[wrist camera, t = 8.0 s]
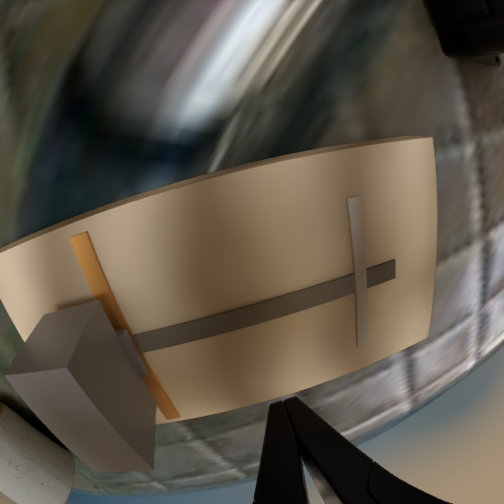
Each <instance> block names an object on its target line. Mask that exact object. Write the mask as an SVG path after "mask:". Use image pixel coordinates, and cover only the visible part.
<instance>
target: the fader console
mask: <svg viewBox="0 0 504 504" xmlns="http://www.w3.org/2000/svg"><path fill="white" fill-rule="evenodd" d="M436 257H437V183H436V167H435V156H434V146H433V137H424V136H411V135H406V136H398V137H390V138H382V139H375V140H368V141H361V142H354V143H348V144H342V145H336V146H330V147H324V148H319V149H314V150H308V151H303V152H298V153H293V154H288V155H283V156H279V157H274V158H269V159H265V160H261V161H256V162H252V163H248V164H244V165H239V166H235V167H231V168H227V169H223V170H219V171H216V172H212V173H208V174H204V175H201V176H197V177H193V178H190V179H186V180H183V181H179V182H176V183H173V184H169V185H166V186H163V187H159V188H156V189H153V190H150V191H147V192H143V193H140V194H137V195H134V196H131V197H128V198H125V199H122V200H119V201H116V202H113V203H110V204H108V205H105V206H102V207H99V208H96V209H94V210H91V211H88V212H86V213H83V214H80V215H78V216H75V217H72V218H70V219H67V220H65V221H62V222H60V223H57V224H55V225H52V226H50V227H47V228H45V229H42V230H40V231H38V232H35V233H33V234H31V235H28V236H26V237H24V238H22V239H19V240H17V241H15V242H13V243H10V244H8V245H6V246H4V247H2V248H1V249H0V299H1V301H2V303H3V304H4V306H5V308H6V310H7V312H8V314H9V316H10V318H11V319H12V321H13V323H14V325H15V327H16V328H17V330H18V332H19V333H20V335H21V337H22V338H23V340H24V342H25V341H26V340H27V338H28V337H29V335H30V334H31V332H32V331H33V329H34V328H35V326H36V325H37V324H38V322H39V321H40V319H41V318H42V316H43V315H44V314H48V313H51V312H55V311H59V310H63V309H66V308H70V307H74V306H78V305H81V304H85V303H89V302H93V301H96V300H100V302H101V305H102V307H103V309H104V311H105V313H106V315H107V317H108V319H109V321H110V323H111V325H112V326H113V328H114V330H115V331H116V330H120V329H125V328H126V329H127V331H128V333H129V335H130V337H131V339H132V341H133V343H134V344H135V346H136V348H137V350H138V352H139V354H140V355H141V357H142V359H143V361H144V363H145V364H146V366H147V368H148V373H147V376H144V377H141V378H142V379H143V381H144V382H145V384H146V386H147V387H148V389H149V390H150V392H151V393H152V395H153V396H154V398H155V399H156V401H157V409H156V424H162V423H169V422H175V421H181V420H186V419H192V418H197V417H202V416H207V415H212V414H216V413H221V412H225V411H230V410H234V409H238V408H242V407H246V406H250V405H254V404H257V403H261V402H265V401H268V400H272V399H275V398H278V397H282V396H285V395H288V394H291V393H294V392H298V391H301V390H304V389H307V388H310V387H313V386H315V385H318V384H321V383H324V382H327V381H329V380H332V379H335V378H337V377H340V376H343V375H345V374H348V373H350V372H353V371H355V370H358V369H360V368H363V367H365V366H367V365H370V364H372V363H375V362H377V361H379V360H381V359H384V358H386V357H388V356H390V355H392V354H395V353H397V352H399V351H401V350H403V349H405V348H407V347H409V346H411V345H413V344H415V343H417V342H419V341H421V340H423V339H425V338H427V337H428V332H429V326H430V319H431V312H432V304H433V295H434V285H435V273H436Z"/></svg>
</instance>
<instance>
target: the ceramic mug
mask: <svg viewBox="0 0 504 504" xmlns="http://www.w3.org/2000/svg"><path fill="white" fill-rule="evenodd" d="M74 475H75V462H74V459H73V457H72V455H71V454H70V453H69V452H68V451H66V450H65V449H63V448H62V447H60V446H59V445H57V444H56V443H54V442H53V441H52V440H50V439H49V438H47V437H46V436H45V435H43V434H42V433H41V432H39V431H38V430H37V429H35V428H34V427H33V426H31V425H30V424H29V423H28V422H26V421H25V420H24V419H23V418H22V417H20V416H19V415H18V414H17V413H16V412H15V411H13V410H12V409H10V408H9V407H7V406H6V405H5V404H3V403H2V402H0V491H1V492H2V493H4V494H5V495H6V496H8V497H9V498H10V499H12V500H13V501H15V502H17V503H18V504H65V502H66V500H67V499H68V496H69V494H70V491H71V488H72V485H73V481H74Z"/></svg>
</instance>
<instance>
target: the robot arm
mask: <svg viewBox="0 0 504 504" xmlns="http://www.w3.org/2000/svg"><path fill="white" fill-rule="evenodd" d="M428 2H429V5H430V8H431V11H432V13H433V16H434V19H435V22H436V25H437V28H438V32H439V35H440V38H441V42H442V45H443V49H444V51H445V53H446V54H447V55H448V56H450V57H456V58H461V59H466V60H471V61H476V62H480V63H484V64H488V65H492V66H500V64H501V62H500V57H499V54H504V0H428ZM301 458H302V460H301ZM302 461H303V463H304V465H305V467H306V469H307V471H308V472H309V474H310V476H311V478H312V480H313V482H314V484H315V486H316V487H317V489H318V491H319V493H320V495H321V497H322V499H323V500H324V502H325V504H452V503H449V502H446V501H444V500H441V499H438V498H437V497H435V496H432V495H430V494H428V493H426V492H424V491H422V490H420V489H418V488H416V487H414V486H412V485H410V484H408V483H406V482H405V481H403V480H401V479H399V478H398V477H396V476H394V475H393V474H391V473H390V472H389V471H387V470H386V469H384V468H383V467H382V466H380V465H379V464H378V463H376V462H373V460H372V459H371V458H370V457H368V456H367V455H366V454H365V453H363V452H362V451H361V450H359V449H358V448H357V447H356V446H354V445H353V444H352V443H351V442H350V441H348V440H347V439H346V438H345V437H343V436H342V435H341V434H340V433H339V432H337V431H336V430H335V429H334V428H333V427H331V426H330V425H329V424H328V423H327V422H325V421H324V420H323V419H322V418H321V417H320V416H318V415H317V414H316V413H315V412H314V411H313V410H312V409H310V408H309V407H308V406H307V405H306V404H305V403H304V402H302V401H301V400H300V399H299V398H298V397H291V398H288V399H285V400H284V402H283V401H278V402H275V403H271V404H270V405H269V410H268V417H267V423H266V430H265V436H264V442H263V448H262V454H261V460H260V466H259V471H258V477H257V483H256V488H255V493H254V501H253V503H252V504H310V502H309V497H308V492H307V487H306V480H305V476H304V470H303V465H302Z"/></svg>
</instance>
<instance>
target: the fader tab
mask: <svg viewBox="0 0 504 504" xmlns="http://www.w3.org/2000/svg"><path fill="white" fill-rule="evenodd" d="M147 373H148V368H147V366H146V364H145V363H144V361H143V359H142V357H141V355H140V354H139V352H138V350H137V348H136V346H135V344H134V343H133V341H132V339H131V337H130V335H129V333H128V331H127V329H126V328H125V329H120V330H116V331H115V330H114V328H113V326H112V325H111V323H110V321H109V319H108V317H107V315H106V313H105V311H104V309H103V307H102V305H101V302H100V300H96V301H93V302H89V303H85V304H81V305H78V306H74V307H70V308H66V309H63V310H59V311H55V312H51V313H48V314H44V315H43V316H42V318H41V319H40V321H39V322H38V324H37V325H36V326H35V328H34V329H33V331H32V332H31V334H30V335H29V337H28V338H27V340H26V341H25V343H24V345H23V346H22V348H21V349H20V351H19V352H18V354H17V356H16V357H15V359H14V360H13V362H12V364H11V365H10V367H9V369H8V370H7V372H6V374H5V377H6V378H7V380H8V381H9V382H10V384H11V385H12V386H13V388H14V389H15V390H16V392H17V393H18V394H19V395H20V397H21V398H22V399H23V400H24V402H25V403H26V404H27V405H28V406H29V407H30V409H31V410H32V411H33V412H34V413H35V414H36V416H37V417H38V418H39V419H40V420H41V421H42V422H43V423H44V424H45V425H46V427H47V428H48V429H49V430H50V431H51V432H52V433H53V434H54V435H55V436H56V437H57V438H58V439H59V440H60V441H61V442H62V443H63V444H64V445H65V446H66V447H67V448H68V449H69V450H70V451H72V452H73V453H74V454H75V455H76V456H77V457H78V458H79V459H80V460H81V461H83V462H84V463H85V464H86V465H87V466H88V467H89V468H91V469H92V470H93V471H94V472H121V471H144V470H154V447H155V426H156V409H157V401H156V399H155V398H154V396H153V395H152V393H151V392H150V390H149V389H148V387H147V386H146V384H145V382H144V381H143V379H142V378H141V377H144V376H147Z"/></svg>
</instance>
